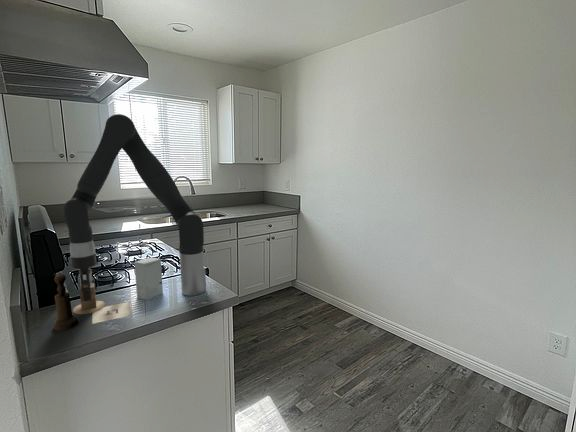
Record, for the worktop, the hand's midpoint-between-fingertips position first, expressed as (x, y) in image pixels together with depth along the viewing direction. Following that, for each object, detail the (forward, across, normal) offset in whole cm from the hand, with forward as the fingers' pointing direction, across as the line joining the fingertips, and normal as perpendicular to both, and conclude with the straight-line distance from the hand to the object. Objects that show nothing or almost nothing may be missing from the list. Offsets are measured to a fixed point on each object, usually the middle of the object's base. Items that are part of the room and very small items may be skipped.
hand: (88, 296), depth 118 cm
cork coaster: (+5, 0, 0) cm, 5 cm away
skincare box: (+5, +1, -21) cm, 22 cm away
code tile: (+5, -8, -7) cm, 12 cm away
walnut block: (+4, 0, 0) cm, 4 cm away
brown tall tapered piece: (+5, -11, +6) cm, 14 cm away
